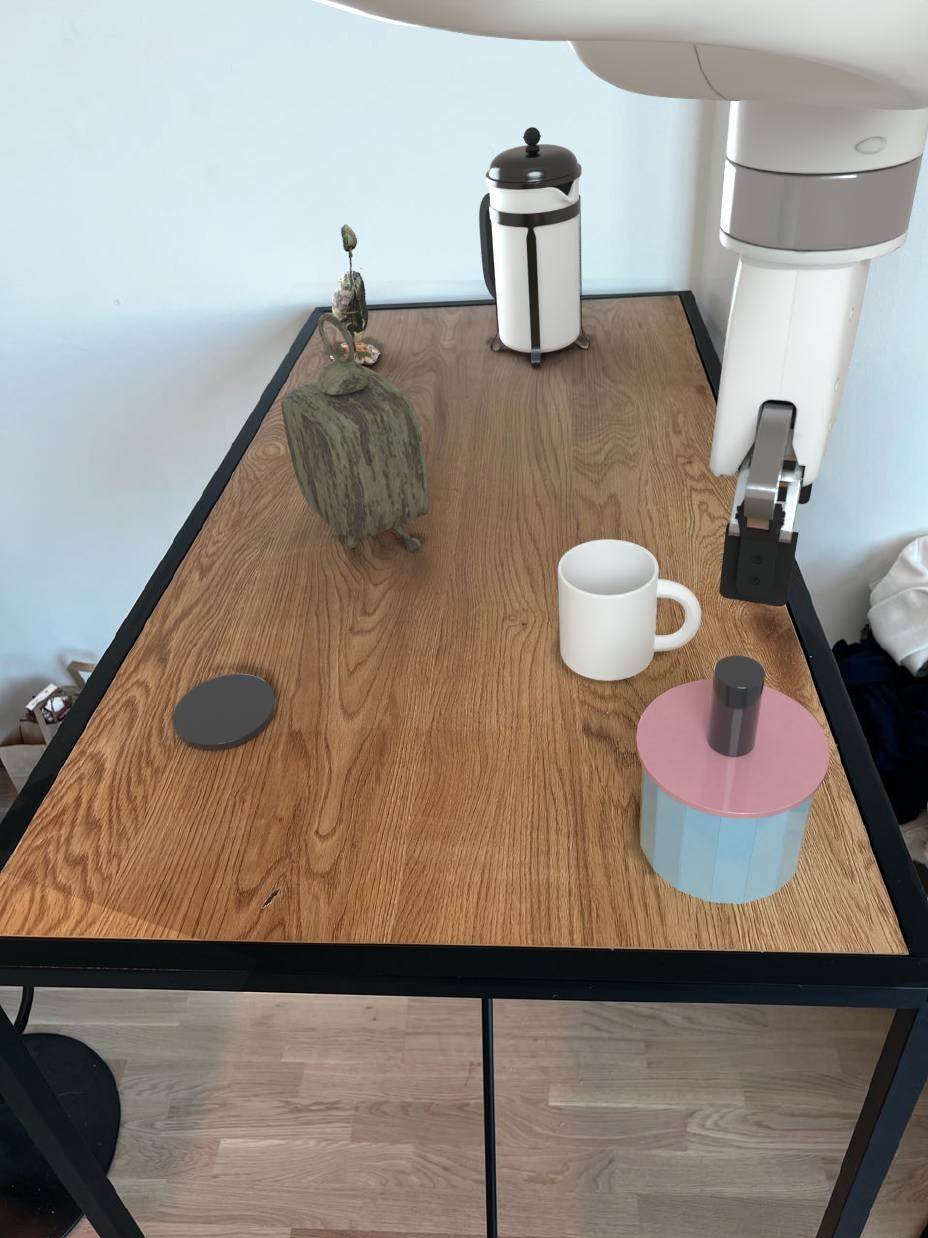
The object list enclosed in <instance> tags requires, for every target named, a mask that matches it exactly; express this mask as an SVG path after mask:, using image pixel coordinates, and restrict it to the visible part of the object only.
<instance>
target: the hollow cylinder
mask: <svg viewBox="0 0 928 1238" xmlns="http://www.w3.org/2000/svg"><path fill="white" fill-rule="evenodd" d="M640 781H641V782H640V802H639V846H640V848H641V851H642V852H643V854H644V856H645V857H646V860H647V861H648V863H649V864H650V865H649V866H650V867H651V868H652V870H653V871H654V872H655V873H656V874H657V875H659V876H660V877H661V878H662V879H663V880H664V881H666V882H667V883H668V884H670V885H671V886H672V887H673V888H674V889H675V890H677V891H679V892H682V893H684V894H687V895H689V896H692V897H695V898H697V899H700V900H702V901H705V902H707V903H716V904H738V905H743V904H748V903H752V902H754V901H758V900H762V899H764V898H767V897H771V896H773V895H775V894H777V892H778V891H780V890H781V889H782V888H783V887H784V886H785V885H786V884H787V883H789V882H790V881H791V880H792V879H793V878H794V877H795V875H796V873H797V869H798V866H799V863H800V861H801V857H802V855H803V850H804V846H805V842H806V837H807V833H808V827H809V822H810V818H811V813H812V809H813V804H814V799H815V794H816V792H815V793H814V794H813V795H812V796H811V797H810V798H809V799H808V800H806V801H805V802H804V803H802V804H801V805H799V806H797V807H795V808H793V809H791V810H789V811H786V812H783V813H781V814H777V815H773V816H768V817H762V818H748V819H739V818H727V817H722V816H716V815H712V814H708V813H705V812H701V811H698V810H696V809H693V808H691V807H688V806H686V805H684V804H683V803H681V802H679V801H677V800H675V799H674V798H672V797H671V796H669V795H668V794H666V793H665V792H664V791H663V790H662V789H660V788H659V787H658V786H657V785H656V784H655V783H654V782H653V781H652V779H651V778H650V777H649V776H648V774H647V773H646V771H645V770H644V768H643V766H642V765H641V779H640Z"/></svg>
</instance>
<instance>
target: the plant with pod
mask: <svg viewBox="0 0 928 1238" xmlns="http://www.w3.org/2000/svg"><path fill="white" fill-rule="evenodd" d="M340 235H341V239H342V246H343V250H344V252H346V253H347V255H348V258H349V270H348V271H345V273H343V274H342V276H341V277H340V278H339V280H338V283H337V286H336V288H335V290H334V291H333V295H332V298H331V302H330V303H331V311H332V316H334V317H335V318H337V319H338V320H339V321H340V322H342V324H343V325H344V326H345V328H346V329H347V331H348V333H349V335H350V337H351V340H352V344H353V348H354V358H353V360H354V361H356V362H358V363H359V364H360V365H367V366H372V365H373V364H375V363H376V362H377V360H378V358H379V355H381V350H379V348H375V345H372V344H370V343H368V344H366V343H365V342H364V341H362V340H363V337H364V334H365V332H366V329H367V327H368V323H369V309H368V306H367V301H366V294H367V293H366V289H365V282H364V280H363V276H362V275H361V273H360V271H356V270H352V267H353V264H352V261H353V260H352V258H353V256H354V255H353V250H355V249H356V247H357V245H358V238H357V236H356V233H355V231H354V230H353V229H352V227H351V226H349V225H348V223H345V224H344V225H343V226H341V228H340ZM361 269H363V268H362V267H359V270H361ZM340 345H341V346H342V347H343V352H344V355H345V356H349V347H348V344H347V342H346V341H345V342H343V343H341V344H340ZM370 350H372V352H371V351H370ZM329 358H330V359H331V360H332V361H334V357H333V356H332V355H331V354H330V356H329Z"/></svg>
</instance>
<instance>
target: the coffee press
mask: <svg viewBox="0 0 928 1238" xmlns="http://www.w3.org/2000/svg"><path fill="white" fill-rule="evenodd" d="M541 138H542V135H541V132H540V130H539V129H537V127H533V126H530V127H528V128H526V130H525V131H524V133H523V136H522V139H523V141H524V143H525V144H526V145H520V146H516V147H512V148H509V149H506V150H504V151H502V152H500V153H499V154H497V155H496V156H495V157H494V158H493V159H492V160H491V162H490V165H489V168H488V170H487V172H486V173H485V183H486V184H487V186H488V188H489V189H488V190H489V192H487V193H486V194H484V195H483V197H482V199H481V201H480V204H479V210H478V223H479V224H478V227H479V242H480V243H479V244H480V255H481V256H480V257H481V267H482V274H483V279H484V283H485V286H486V289H487V291H488V293H489V294H490V296H491V297H492V298H493V299H494V301H495V315H496V316H495V317H496V334H495V335H494V337H493V339H492V340H491V343H490V346H489V347H490V350H492V349H493V346H494V344H493V343H494V342H495V340H497V337H498V335H499V338H500V340H501V344H500V345H499V346H500V348H499V349H500V350H501V349H503V347H504V346H506V347H508V348H509V349H511V350H514V351H517V352H520V353H527V354H530V367H531V368H532V367H540V363H541V364H542V355H543V353H549V352H554V351H555V352H556V351H559V350H561V349H564V348H566V347H568V346H570V345H572V344H575V345H577V346H578V347H579V348H580V347H581V346H582V344H583V343H582V342H581V341H580V340H578V338H579V336H580V333H581V334H582V336H583V337H584V339H586V341H587V342H588V344H589V345H588V347H589V348H590V347H591V338H590V336H588V334H587V333H586V331H585V330H584V326H583V275H582V271H583V269H582V199H581V198H582V196H581V195H580V178H581V176H582V169H583V168H582V164H580V163H579V162H578V159H577V157H576V155H575V154H574V152H573V151H572V150H570V149H568V148H567V147H564V146H562V145H557V144H549V143H548V144H547V143H542V144H541V143H539V142H540V141H541Z"/></svg>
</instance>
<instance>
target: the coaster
mask: <svg viewBox="0 0 928 1238" xmlns="http://www.w3.org/2000/svg"><path fill="white" fill-rule="evenodd" d="M277 706H278V703H277V698H276V694H275V691H274V689H273V687H272V686H271V684H269V683H268V682H267V681H266V680H265V679H263V678H261V677H259V676H256V675H252V674H248V673H229V674H223V675H219V676H215V677H212V678H210V679H207V680H205V681H202V682H200V683H199V684H198V685H196V686H194V687H193V688H191V689H190V690H188V691H187V692H186V693H185V694H184V695H183V697H181V699H180V700H179V701H178V703H177V704H176V706H175V708H174V710H173V714H172V726H173V728H174V731H175V734H176V736H177V737H178V739H179V740H180V741H181V742H182V743H183V744H185V745H186V746H188V747H190V748H193V749H195V750H200V751H207V752H217V751H224V750H230V749H232V748H237V747H239V746H241V745H244V744H245V743H248V742H250V741H251V740H253V739H254V738H256V737H257V736H259V735H260V734H261V733H262V732H264V731H265V730H266V729H267V727H268V726H269V725H270V724H271V723H272V721H273V720H274V717H275V715H276V713H277V708H278V707H277Z"/></svg>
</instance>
